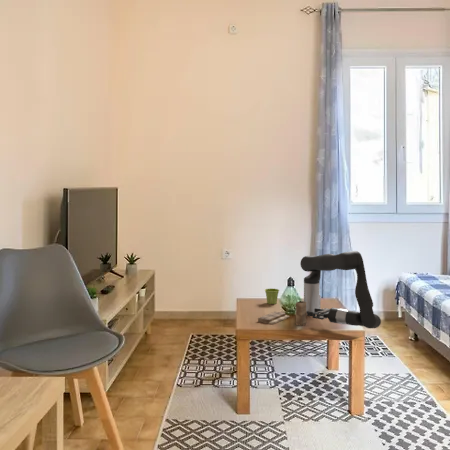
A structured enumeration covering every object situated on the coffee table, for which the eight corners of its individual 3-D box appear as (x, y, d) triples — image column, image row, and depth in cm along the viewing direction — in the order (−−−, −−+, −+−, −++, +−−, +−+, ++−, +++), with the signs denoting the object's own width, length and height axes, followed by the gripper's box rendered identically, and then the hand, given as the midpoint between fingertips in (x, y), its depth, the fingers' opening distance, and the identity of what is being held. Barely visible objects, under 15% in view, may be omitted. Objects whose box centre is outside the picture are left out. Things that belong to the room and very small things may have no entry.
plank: (306, 323, 255) (306, 301, 254) (301, 325, 251) (301, 303, 250) (300, 322, 257) (300, 300, 256) (295, 324, 253) (296, 302, 252)
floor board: (275, 314, 274) (275, 311, 274) (289, 317, 269) (289, 313, 269) (257, 321, 260) (257, 317, 260) (272, 324, 254) (272, 320, 254)
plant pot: (282, 303, 304) (282, 289, 303) (272, 305, 297) (272, 292, 297) (271, 301, 311) (271, 287, 310) (261, 303, 304) (261, 290, 303)
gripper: (345, 306, 245) (317, 302, 255) (333, 311, 234) (304, 307, 244) (345, 320, 246) (317, 316, 256) (333, 326, 234) (304, 321, 244)
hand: (310, 311), depth 250 cm, fingers open, 8 cm apart
